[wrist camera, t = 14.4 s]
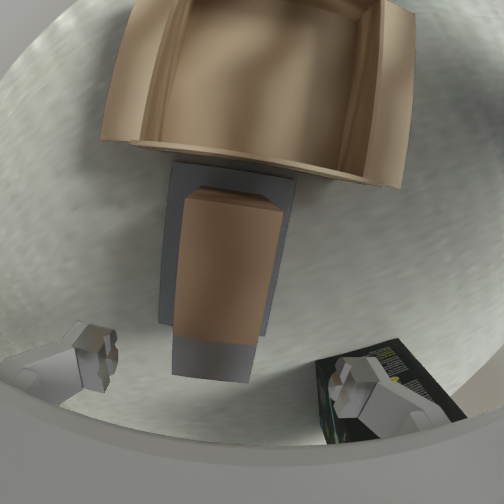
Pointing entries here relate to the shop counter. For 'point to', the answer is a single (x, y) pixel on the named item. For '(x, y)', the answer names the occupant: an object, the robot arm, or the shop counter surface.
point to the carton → (269, 84)
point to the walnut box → (222, 282)
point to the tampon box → (398, 369)
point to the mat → (194, 176)
